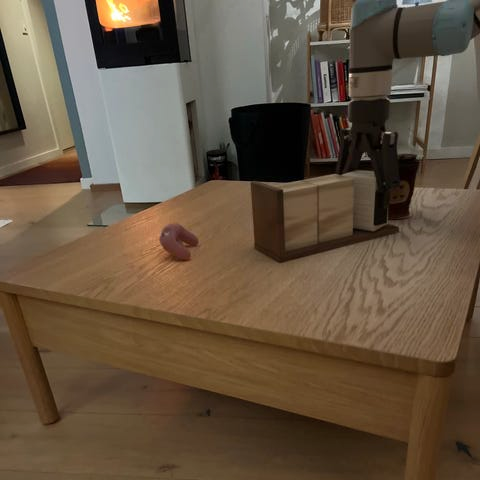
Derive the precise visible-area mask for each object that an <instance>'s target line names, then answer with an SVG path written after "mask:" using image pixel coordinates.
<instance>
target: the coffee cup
mask: <svg viewBox="0 0 480 480" xmlns="http://www.w3.org/2000/svg"><path fill="white" fill-rule="evenodd" d="M397 155H398V166H399V178H400V187H399V188H396V189H393V190H391V195H390V206H389V208H388V219H393V220H394V219H395V220H397V219H398V220H399V219H407V218H409V217H411V216H410V215H411V213H410V205H411V203H412V198H413V196H414V194H415V193H414V192H415V187H416V179H417V173H418V171H419V168H420V164H421V162H420V160H419V159H417V157H418V154H415V153H397ZM392 183H393V182H392Z"/></svg>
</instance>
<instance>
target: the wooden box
mask: <svg viewBox="0 0 480 480" xmlns="http://www.w3.org/2000/svg"><path fill="white" fill-rule="evenodd" d="M250 196H251V197H250V198H251V212H252V225H253V240H254V241H253V242H254V244H253V248H254V249H255V250H256V251H258V252H259V253H262V254H264V255H265V256H267V257H269V258H270V259H271V260H274V261H276V262H278V263H284V262H285V263H286V262H289V261H292V260H296V259H300V258H303V257H307V256H312V255H315V254H320V253H323V252H327V251H330V250H331V251H332V250H335V249H338V248H342V247H346V246H350V245H355V244H358V243H362V242H365V241H369V240H374V239H377V238H381V237H385V236H388V235H392V234H396V233H399V232H400V226H398V225H397V226H396V225H393V224H390V223H388V222H387V225H385V226H383V227H381V228H379V229H377V230H375V231H367V230H361V229H355V228H353V205H354V178H351V177H347V176H342V175H338V174H335V173H333V174H327V175H322V176H318V177H317V176H316V177H312V178H307V179H301V180H297V181H291V182H284V183H280V184H275V185H270V184H266V183H264V182H261V181H258V180H253V181H250Z"/></svg>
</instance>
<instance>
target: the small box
mask: <svg viewBox="0 0 480 480" xmlns="http://www.w3.org/2000/svg"><path fill="white" fill-rule="evenodd" d="M342 176H347V177H351V178H354V205H353V228H355V229H361V230H367V231H375V230H377V229H379V228H381V227H383V226H385V225H387V223H388V219H389V218H388V213H387V223H385V224H381V225H377V226H375V225H373V223H374V205H375V192H376V190H378V185H377V182H376V178H375V174H374V170H360V169H357V170H355V171H352V172H349V173H346V174H343V175H342ZM384 185H385V183H384Z"/></svg>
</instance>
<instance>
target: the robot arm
mask: <svg viewBox="0 0 480 480" xmlns="http://www.w3.org/2000/svg"><path fill="white" fill-rule="evenodd" d="M349 22H350V23H349V24H350V25H349V26H350V27H349V29H348V34H349V53H348V54H349V55H348V56H349V62H348V64H349V65H348V66H349V68H348V97H349V98H350V99H351V100H349V101H348V103H347V122H349V123H351V127H347V128H342V129H340V131H339V134H340V135H339V136H340V137H339V138H340V141H339V142H340V143H339V149H338V155H337V162H336V167H335V173H334V174H338V175H343V174H346V173H349V172H352V171H355V170H358V168H359V166H360V163H361V160H362V157H363V155H364V154H365V153H366V156H367V157H368V158H369V159H370V163H371V166H372V171H374V174H375V178H376V182H377V185H378V190H376V192H375V205H374V223H373V225H375V226H377V225H381V224H385V223H388V222H387V213H388V208H389V206H390V195H391V190H393V189H396V188H399V187H400V178H399V166H398V155H397V154H398V140H399V139H398V138H399V132H397V131H387V129H386V122H387V121H388V120H389V119H390V113H391V112H390V111H391V99H390V98H388V96H390V95H391V94H392V82H393V81H392V80H393V63H394V60H401V59H411V58H412V59H413V58H426V57H427V58H428V57H439V56H440V57H447V56H451V55H458V54H463V53H464V52H465V51H466V50H467V49H468V48H469V45H470V42H471V41H472V40H473V39H475V38H476V37H477V36H479V35H480V0H445V1H438V2H432V3H426V4H418V5H413V6H407V7H406V6H403V7H402V6H398V4H397V0H355V1H354V2H353V3H352V6H351V12H350V21H349ZM392 182H393V183H392ZM384 183H385V185H384Z"/></svg>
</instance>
